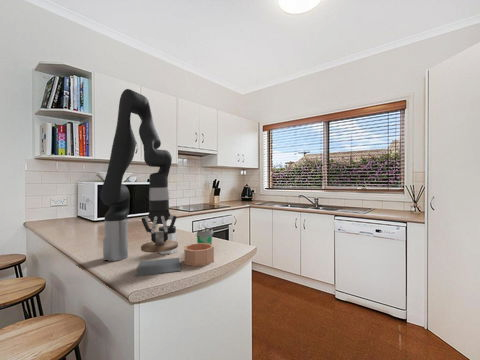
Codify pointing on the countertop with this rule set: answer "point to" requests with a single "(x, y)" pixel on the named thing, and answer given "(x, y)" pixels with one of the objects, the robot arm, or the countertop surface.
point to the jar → (170, 238)
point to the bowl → (198, 254)
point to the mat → (158, 266)
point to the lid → (159, 244)
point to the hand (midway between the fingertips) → (159, 241)
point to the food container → (205, 236)
